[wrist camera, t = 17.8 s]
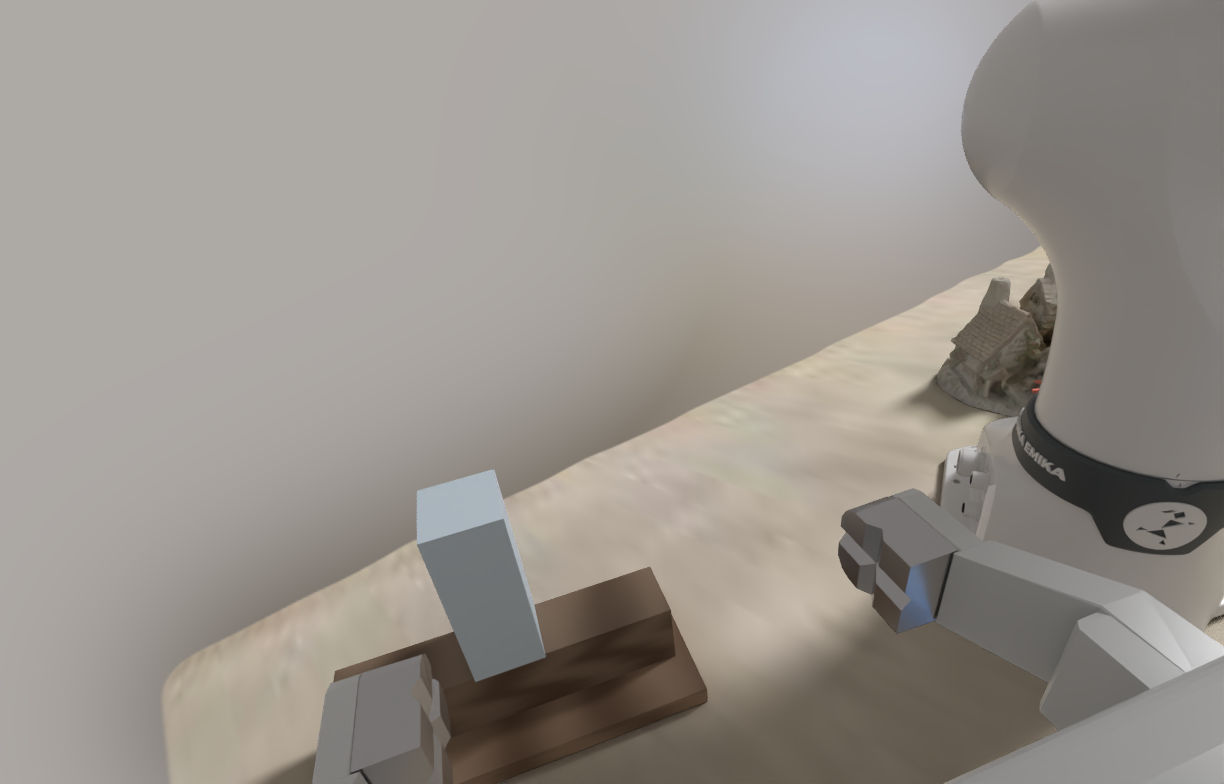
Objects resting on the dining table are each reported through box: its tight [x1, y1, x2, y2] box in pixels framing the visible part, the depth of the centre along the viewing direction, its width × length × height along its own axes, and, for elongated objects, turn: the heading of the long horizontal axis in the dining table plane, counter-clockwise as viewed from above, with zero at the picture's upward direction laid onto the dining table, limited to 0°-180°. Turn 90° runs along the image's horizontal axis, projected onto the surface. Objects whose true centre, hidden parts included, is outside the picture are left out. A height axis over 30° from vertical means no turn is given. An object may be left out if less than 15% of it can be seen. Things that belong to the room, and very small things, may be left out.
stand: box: [334, 567, 707, 784], centre depth 39 cm, size 24×10×6 cm, turn 107°
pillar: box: [417, 470, 546, 682], centre depth 34 cm, size 4×4×12 cm
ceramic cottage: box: [936, 263, 1057, 417], centre depth 60 cm, size 16×16×15 cm
